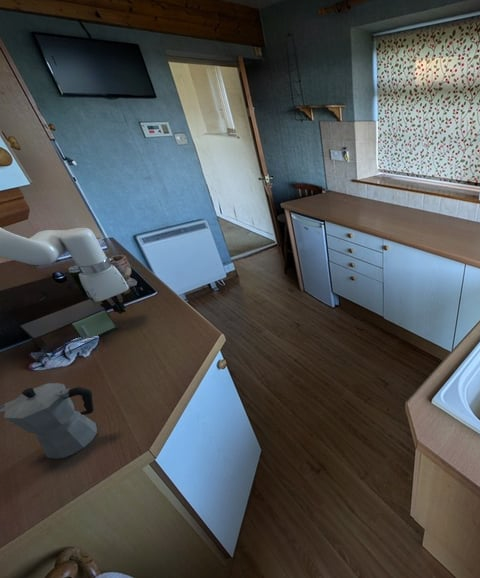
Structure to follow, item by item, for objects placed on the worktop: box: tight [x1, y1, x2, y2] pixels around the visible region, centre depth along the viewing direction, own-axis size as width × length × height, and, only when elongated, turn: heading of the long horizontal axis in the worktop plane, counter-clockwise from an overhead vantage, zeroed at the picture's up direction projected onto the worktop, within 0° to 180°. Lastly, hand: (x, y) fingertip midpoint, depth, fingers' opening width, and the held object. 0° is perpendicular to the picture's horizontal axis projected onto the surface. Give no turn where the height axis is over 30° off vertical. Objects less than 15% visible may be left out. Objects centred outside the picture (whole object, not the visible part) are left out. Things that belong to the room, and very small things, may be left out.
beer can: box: [68, 264, 88, 296], centre depth 122 cm, size 5×5×12 cm
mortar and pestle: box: [107, 254, 138, 289], centre depth 124 cm, size 12×9×20 cm
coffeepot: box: [0, 382, 98, 460], centre depth 66 cm, size 15×9×18 cm, turn 111°
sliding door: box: [72, 310, 116, 339], centre depth 100 cm, size 9×2×7 cm, turn 151°
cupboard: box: [20, 298, 120, 353], centre depth 99 cm, size 18×14×8 cm
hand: (121, 311), depth 105 cm, fingers closed
